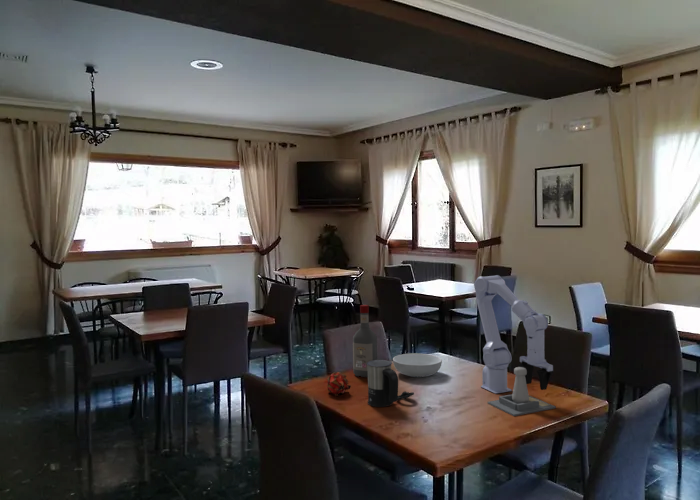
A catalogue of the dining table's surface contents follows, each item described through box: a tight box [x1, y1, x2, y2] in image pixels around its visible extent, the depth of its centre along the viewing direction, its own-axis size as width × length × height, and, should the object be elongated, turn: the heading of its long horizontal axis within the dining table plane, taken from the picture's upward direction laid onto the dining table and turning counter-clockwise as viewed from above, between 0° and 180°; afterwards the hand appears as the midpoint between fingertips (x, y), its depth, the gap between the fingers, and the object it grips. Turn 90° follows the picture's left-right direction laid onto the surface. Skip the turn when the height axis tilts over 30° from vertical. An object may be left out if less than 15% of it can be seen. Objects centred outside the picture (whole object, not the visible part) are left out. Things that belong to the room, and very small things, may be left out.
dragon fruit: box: [326, 371, 352, 396], centre depth 202 cm, size 8×8×12 cm
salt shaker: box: [512, 366, 530, 404], centre depth 184 cm, size 6×6×13 cm
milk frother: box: [367, 359, 415, 408], centre depth 191 cm, size 14×16×15 cm
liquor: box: [352, 304, 378, 378], centre depth 226 cm, size 9×9×30 cm
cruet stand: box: [487, 393, 557, 417], centre depth 184 cm, size 14×18×3 cm
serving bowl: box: [392, 352, 443, 378], centre depth 225 cm, size 21×21×7 cm
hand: (535, 386), depth 186 cm, fingers open, 7 cm apart
